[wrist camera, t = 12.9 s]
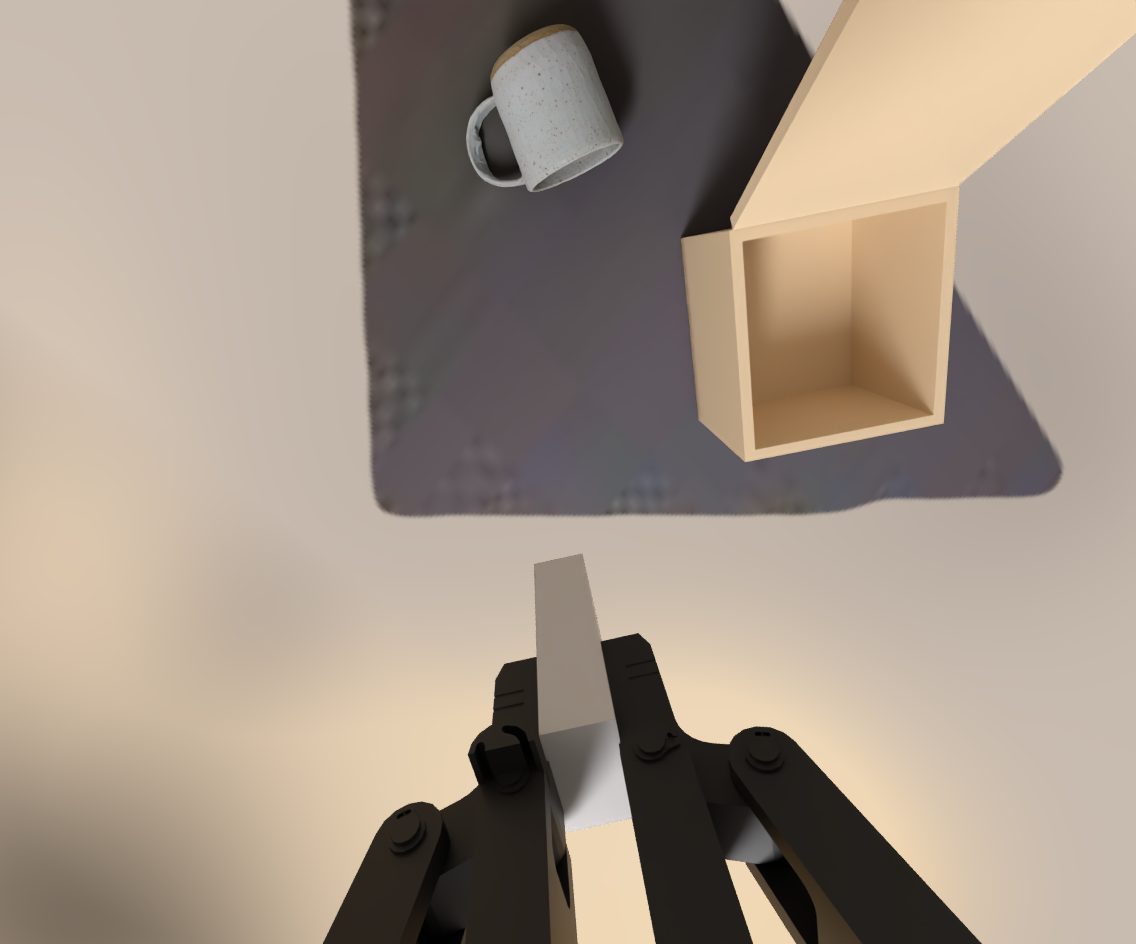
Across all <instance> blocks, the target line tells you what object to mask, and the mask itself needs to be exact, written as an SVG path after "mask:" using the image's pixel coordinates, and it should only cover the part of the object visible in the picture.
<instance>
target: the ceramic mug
mask: <svg viewBox="0 0 1136 944" xmlns="http://www.w3.org/2000/svg"><path fill="white" fill-rule="evenodd" d="M490 79H491V86H492V91H493V96H491V97H489V98H487V99H486V100H484V101H483V102H482V103H481V104H480V105H479V106H478V107H477V108H476V109H475V111H474V112H473V114H472V115H471V117H470V120H469V123H468V127H467V135H466V141H467V149H468V153H469V157H470V159H471V162H472V165H473V167H474V168H475V170H476V172H477V173H478V175H479V176H480V177H481V178H482V179H484V180H485V181H486V182H488V183H490V184H493V185H496V186H500V187H511V186H519V185H524V184H526V187H527V189H528V190H529V191H531V192H538V191H542V190H545V189H548V188H551V187H554V186H557V185H559V184H561V183H563V182H565V181H568V180H570V179H573V178H575V177H576V176H578V175H580V174H583V173H585V172H586V171H588V170H590V169H592V168H593V167H595V166H597V165H599V164H600V163H602V162H603V161H605V160H607V159H608V158H610V157H611V156H612V155H613V154H615V153H616V152H617V151H618V150H619V149H620V148H621V147H622V145H623V136H622V134H621V131H620V129H619V127H618V124H617V122H616V119H615V116H614V114H613V111H612V108H611V106H610V103H609V101H608V98H607V95H606V93H605V91H604V88H603V86H602V83H601V81H600V78H599V76H598V73H597V70H596V67H595V65H594V62H593V59H592V56H591V54H590V52H589V50H588V48H587V46H586V44H585V42H584V41H583V39H582V37H581V35H580V34H579V33H578V31H577V30H576V29H574V28H573V27H571V26H568V25H564V24H557V25H551V26H547V27H544V28H541V29H539V30H537V31H534V32H532V33H530V34H529V35H527V36H525V37H524V38H522V39H520V40H519V41H518V42H516V43H515V44H513V45H512V46H510V47H509V48H508V49H507V50H506V51H505V52H504V53H503V54H502V55H501V56H500V57H499V58H498V60H497V61H496V63H495V64H494V66H493V70H492V73H491V77H490ZM495 106H497V109H498V112H499V114H500V117H501V119H502V122H503V124H504V126H505V129H506V131H507V134H508V137H509V139H510V142H511V145H512V148H513V152H514V154H515V157H516V159H517V162H518V165H519V167H520V170H521V173H522V176H521V177H520V178H519V179H516V180H506V181H503V180H500V179H497V178H496V177H494V176H493V174H492V173H491V172H490V171H489V168H488V166H487V162H486V159H485V157H484V154H483V150H482V141H481V139H480V138H479V130H480V127H481V124H482V121H483V119H484V118H485V117H486V116H487V114H488V113H489V112H490V111H491V110H492V109H493V108H494V107H495Z"/></svg>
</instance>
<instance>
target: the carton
mask: <svg viewBox="0 0 1136 944" xmlns="http://www.w3.org/2000/svg"><path fill="white" fill-rule="evenodd" d="M959 192H960V186H955V187H950V188H945V189H940V190H935V191H930V192H924V193H919V194H914V195H909V196H904V197H899V198H894V199H889V200H883V201H878V202H873V203H868V204H863V205H858V206H853V207H848V208H842V209H837V210H832V211H827V212H822V213H817V214H812V215H807V216H802V217H796V218H791V219H786V220H781V221H776V222H771V223H766V224H761V225H755V226H750V227H745V228H740V229H735V230H733V228H731V229H726V230H721V231H716V232H710V233H705V234H700V235H695V236H690V237H685V238H681V247H682V257H683V267H684V277H685V287H686V297H687V307H688V317H689V328H690V338H691V348H692V358H693V368H694V378H695V388H696V398H697V409H698V419H699V420H700V421H701V422H702V423H703V424H704V425H705V426H706V427H707V428H708V429H709V430H711V431H712V432H713V433H714V434H715V435H716V436H717V437H718V438H719V439H720V440H722V441H723V442H724V443H725V444H726V445H727V446H728V447H729V448H730V449H731V450H733V451H734V452H735V453H736V454H737V455H738V456H739V457H740V458H741V459H742V460H743V461H745V462H748V461H753V460H758V459H763V458H768V457H773V456H778V455H784V454H789V453H794V452H799V451H804V450H809V449H814V448H819V447H824V446H830V445H835V444H840V443H845V442H850V441H855V440H860V439H865V438H870V437H876V436H881V435H886V434H891V433H896V432H901V431H906V430H911V429H916V428H922V427H927V426H932V425H937V424H942V423H944V409H945V394H946V380H947V366H948V351H949V337H950V322H951V308H952V293H953V279H954V264H955V250H956V236H957V235H956V234H957V221H958V207H959V206H958V205H959Z"/></svg>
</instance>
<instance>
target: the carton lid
mask: <svg viewBox="0 0 1136 944" xmlns="http://www.w3.org/2000/svg"><path fill="white" fill-rule="evenodd" d="M1135 33H1136V0H843V2H842V4H841V6H840V8H839V10H838V12H837V13H836V16H835V17H834V19H833V21H832V23H831V25H830V27H829V29H828V31H827V33H826V35H825V37H824V38H823V41H822V43H821V44H820V46H819V48H818V50H817V52H816V54H815V56H814V58H813V60H812V62H811V63H810V65H809V67H808V69H807V71H806V73H805V75H804V77H803V79H802V81H801V83H800V85H799V87H798V88H797V90H796V92H795V94H794V96H793V98H792V100H791V102H790V104H789V106H788V108H787V110H786V112H785V114H784V115H783V117H782V119H781V121H780V123H779V125H778V127H777V129H776V131H775V133H774V135H773V137H772V139H771V140H770V142H769V144H768V146H767V148H766V150H765V152H764V154H763V156H762V158H761V160H760V162H759V164H758V165H757V167H756V169H755V171H754V173H753V175H752V177H751V179H750V181H749V183H748V185H747V187H746V189H745V190H744V192H743V194H742V196H741V198H740V200H739V202H738V204H737V206H736V208H735V210H734V212H733V214H732V215H731V217H730V220H731V224H732V228H733V230H735V229H740V228H745V227H750V226H755V225H761V224H766V223H771V222H776V221H781V220H786V219H791V218H796V217H802V216H807V215H812V214H817V213H822V212H827V211H832V210H837V209H842V208H848V207H853V206H858V205H863V204H868V203H873V202H878V201H883V200H889V199H894V198H899V197H904V196H909V195H914V194H919V193H924V192H930V191H935V190H940V189H945V188H950V187H955V186H959V185H960V184H961V183H962V182H963V181H964V180H966V179H967V178H968V177H969V176H970V175H971V174H972V173H974V172H975V171H976V170H977V169H978V168H979V167H981V166H982V165H983V164H984V163H985V162H986V161H987V160H989V159H990V158H991V157H992V156H993V155H995V154H996V153H997V152H998V151H999V150H1000V149H1001V148H1003V147H1004V146H1005V145H1006V144H1007V143H1008V142H1010V141H1011V140H1012V139H1013V138H1014V137H1015V136H1016V135H1018V134H1019V133H1020V132H1021V131H1022V130H1024V129H1025V128H1026V127H1027V126H1028V125H1029V124H1031V123H1032V122H1033V121H1034V120H1035V119H1036V118H1038V117H1039V116H1040V115H1041V114H1042V113H1043V112H1044V111H1046V110H1047V109H1048V108H1049V107H1050V106H1051V105H1053V104H1054V103H1055V102H1056V101H1057V100H1058V99H1060V98H1061V97H1062V96H1063V95H1064V94H1065V93H1067V92H1068V91H1069V90H1070V89H1071V88H1072V87H1074V86H1075V85H1076V84H1077V83H1078V82H1079V81H1080V80H1082V79H1083V78H1084V77H1085V76H1086V75H1087V74H1089V73H1090V72H1091V71H1092V70H1093V69H1094V68H1096V67H1097V66H1098V65H1099V64H1100V63H1101V62H1103V61H1104V60H1105V59H1106V58H1107V57H1108V56H1109V55H1111V54H1112V53H1113V52H1114V51H1115V50H1117V49H1118V48H1119V47H1120V46H1121V45H1122V44H1123V43H1125V42H1126V41H1127V40H1128V39H1129V38H1131V37H1132V36H1133V35H1134V34H1135Z"/></svg>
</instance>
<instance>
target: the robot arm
mask: <svg viewBox="0 0 1136 944" xmlns="http://www.w3.org/2000/svg"><path fill="white" fill-rule="evenodd" d="M534 578H535V613H536V647H537V657H534V658H529V659H525V660H521V661H516V662H511V663H506V664H504V666H503V667H502V669H501V671H500V673H499V675H498V677H497V678H496V680H495V693H494V696H495V699H494V707H493V710H494V713H493V721H492V725H491V726H489V727H488V728H486V729H485V730H484V731H482V732H481V733H480V734H479V735H478V736H477V737H476V739H475V740H474V741H473V742H472V744H471V747H470V750H469V753H468V757H469V759H470V762H471V765H472V768H473V770H474V773H475V776H476V778H477V781H478V784H479V785H478V786H477V787H476V788H475V789H474V790H473V791H472V792H471V793H470V794H468V795H467V796H465V797H464V798H462V799H461V800H459V801H457V802H455V803H453V804H451V805H449V806H448V807H446V808H444V809H442V810H440V811H439V810H438V809H437V808H436V807H435V806H434V805H433V804H430V803H426V802H417V803H411V804H408V805H406V806H404V807H402V808H400V809H399V810H396V811H395V812H394V813H393V814H392V815H391V816H390V817H389V818H387V819H386V820H385V821H384V823H383V824H382V826H381V827H380V829H379V830H378V832H377V833H376V835H375V837H374V839H373V841H372V843H371V845H370V847H369V850H368V852H367V854H366V856H365V858H364V860H363V862H362V864H361V866H360V868H359V870H358V872H357V874H356V876H355V878H354V880H353V883H352V884H351V887H350V889H349V891H348V893H347V895H346V897H345V899H344V901H343V903H342V905H341V907H340V909H339V911H338V914H337V916H336V918H335V920H334V922H333V924H332V926H331V928H330V930H329V932H328V934H327V936H326V938H325V940H324V942H323V944H578V943H577V932H576V931H577V930H576V918H575V906H574V893H573V880H572V868H571V859H570V855H569V851H568V848H567V845H566V839H565V825H564V821H565V824H566V828H567V831H568V832H571V831H576V830H581V829H586V828H590V827H595V826H599V825H604V824H608V823H613V822H618V821H622V820H627V819H632V821H633V826H634V831H635V837H636V842H637V847H638V852H639V857H640V863H641V868H642V874H643V879H644V884H645V889H646V895H647V900H648V905H649V910H650V916H651V920H652V926H653V932H654V936H655V942H656V944H753V942H752V939H751V936H750V933H749V930H748V927H747V924H746V921H745V918H744V915H743V912H742V909H741V906H740V903H739V900H738V897H737V894H736V891H735V888H734V885H733V882H732V879H731V876H730V873H729V870H728V867H727V864H726V861H725V859H727V860H735V861H741V862H745V863H746V865H747V867H748V868H749V870H750V872H751V873H752V875H753V876H754V878H755V879H756V881H757V882H758V884H759V886H760V887H761V889H762V890H763V892H764V894H765V895H766V897H767V898H768V900H769V901H770V903H771V905H772V906H773V908H774V909H775V911H776V912H777V914H778V916H779V917H780V919H781V920H782V922H783V923H784V925H785V927H786V928H787V930H788V931H789V933H790V935H791V936H792V937H793V939H794V941H795V942H796V944H981V942H980V941H979V940H978V939H977V938H976V937H975V936H974V935H973V934H972V933H971V932H970V931H969V930H968V928H967V927H966V926H965V925H964V924H963V923H962V922H961V921H960V920H959V919H958V917H957V916H956V915H955V914H954V913H953V912H952V911H951V910H950V909H949V908H948V907H947V906H946V905H945V903H943V901H942V900H941V899H940V898H939V897H938V896H937V895H936V894H935V893H934V892H933V890H931V888H930V887H929V886H928V885H927V884H926V883H925V882H924V881H923V880H922V878H921V877H919V875H918V874H917V873H916V872H915V871H914V870H913V869H912V868H911V867H910V866H909V864H907V862H906V861H905V860H904V859H903V858H902V857H901V856H900V855H899V854H898V853H897V851H896V850H895V849H894V848H893V847H892V846H891V845H890V844H889V843H888V842H887V841H886V840H885V838H884V837H883V836H882V835H881V834H880V833H879V832H878V831H877V830H876V829H875V828H874V826H873V825H872V824H871V823H870V822H869V821H868V820H867V819H866V818H865V817H864V816H863V815H862V813H861V812H859V810H858V809H857V808H856V807H855V806H854V805H853V804H852V803H851V802H850V800H848V799H847V797H846V796H845V795H844V794H843V793H842V792H841V791H840V790H839V789H838V787H836V785H835V784H834V783H833V782H832V781H831V780H830V779H829V778H828V777H827V776H826V774H825V773H824V772H823V771H822V770H821V769H820V768H819V767H818V766H817V765H816V764H815V763H814V761H813V760H812V759H811V758H810V757H809V756H808V755H807V754H806V753H805V752H804V751H803V750H802V749H801V747H799V745H798V744H797V743H796V742H795V741H794V740H793V739H791V738H790V737H789V736H787V735H786V734H785V733H783V732H781V731H778V730H776V729H773V728H770V727H752V728H748V729H744V730H742V731H741V732H740V733H738V734H737V735H735V736H734V737H733V739H732V741H731V742H730V744H714V743H707V742H702V741H700V740H697V739H694V738H692V737H691V736H689V735H688V734H686V733H685V732H684V731H683V730H682V729H681V728H680V727H679V726H678V724H677V722H676V720H675V717H674V715H673V711H672V708H671V705H670V703H669V700H668V696H667V693H666V690H665V687H664V684H663V681H662V678H661V675H660V673H659V669H658V666H657V663H656V660H655V657H654V654H653V651H652V648H651V645H650V644H649V643H648V642H647V641H646V640H645V639H644V638H643V637H642V636H641V635H640V634H638V633H637V634H633V635H628V636H623V637H619V638H615V639H610V640H606V641H602V640H601V635H600V630H599V626H598V621H597V617H596V612H595V608H594V603H593V599H592V595H591V590H590V586H589V581H588V577H587V573H586V568H585V563H584V559H583V555H582V554H578V555H574V556H569V557H565V558H560V559H555V560H551V561H546V562H542V563H537V564H534Z"/></svg>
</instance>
